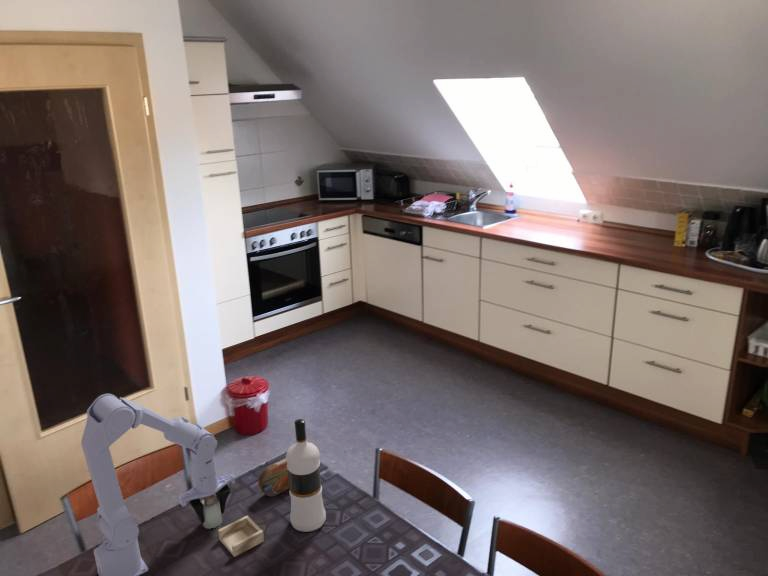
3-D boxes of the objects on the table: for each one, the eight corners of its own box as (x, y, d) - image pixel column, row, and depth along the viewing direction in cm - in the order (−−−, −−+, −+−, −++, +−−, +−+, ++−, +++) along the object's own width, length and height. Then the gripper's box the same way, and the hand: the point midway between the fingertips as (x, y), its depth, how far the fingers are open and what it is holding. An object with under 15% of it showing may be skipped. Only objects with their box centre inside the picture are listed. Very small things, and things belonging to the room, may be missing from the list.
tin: (263, 501, 171) (260, 475, 168) (258, 496, 173) (255, 470, 170) (309, 479, 180) (307, 453, 177) (303, 474, 182) (301, 449, 179)
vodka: (283, 522, 162) (273, 422, 152) (310, 505, 168) (302, 407, 159) (306, 539, 156) (297, 435, 146) (333, 520, 162) (326, 419, 153)
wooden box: (234, 557, 151) (233, 547, 150) (219, 539, 157) (218, 529, 156) (264, 541, 156) (263, 531, 155) (248, 524, 162) (247, 515, 161)
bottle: (207, 531, 160) (203, 505, 157) (199, 521, 163) (195, 496, 161) (225, 522, 163) (222, 497, 160) (217, 513, 166) (213, 488, 164)
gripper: (224, 454, 165) (229, 497, 170) (171, 476, 157) (178, 521, 161) (236, 465, 160) (242, 509, 165) (182, 489, 152) (190, 535, 156)
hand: (211, 516), depth 162 cm, fingers closed on bottle, 5 cm apart
